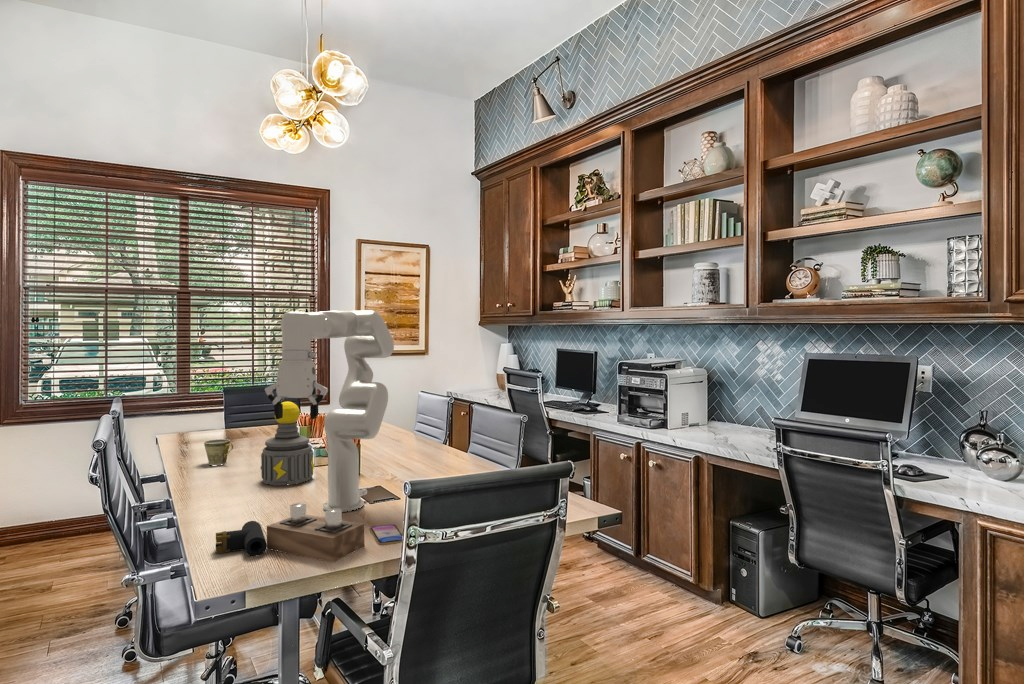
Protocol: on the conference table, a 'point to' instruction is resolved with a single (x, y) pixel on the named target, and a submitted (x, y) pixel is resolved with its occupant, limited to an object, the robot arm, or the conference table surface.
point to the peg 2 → (333, 519)
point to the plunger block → (315, 538)
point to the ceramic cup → (217, 451)
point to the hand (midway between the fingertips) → (296, 418)
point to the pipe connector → (242, 540)
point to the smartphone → (386, 534)
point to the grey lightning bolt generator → (287, 452)
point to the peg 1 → (298, 513)
